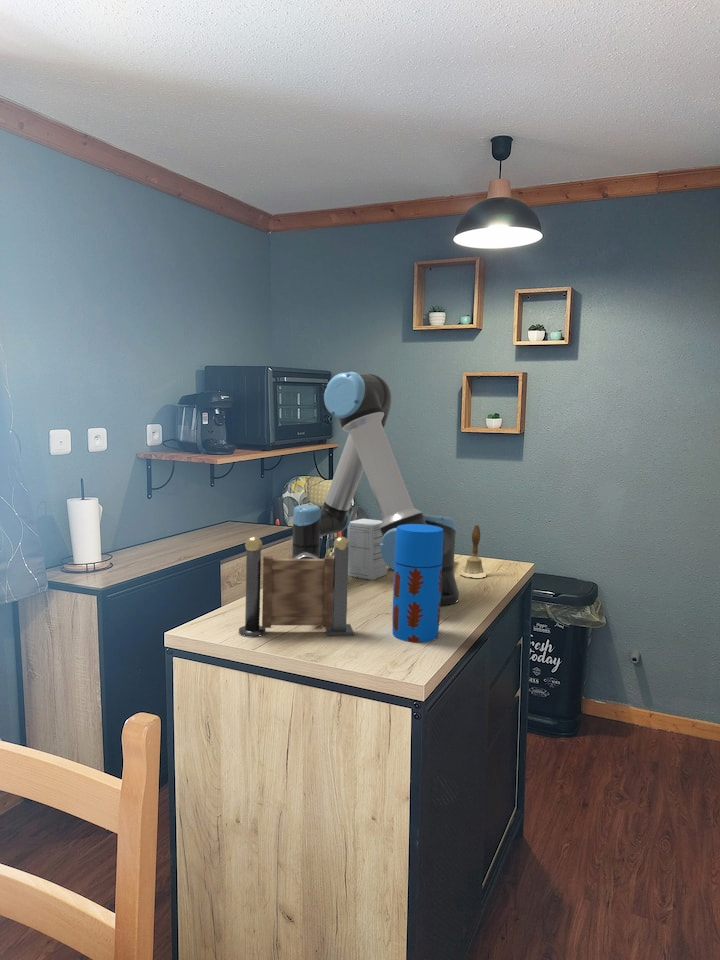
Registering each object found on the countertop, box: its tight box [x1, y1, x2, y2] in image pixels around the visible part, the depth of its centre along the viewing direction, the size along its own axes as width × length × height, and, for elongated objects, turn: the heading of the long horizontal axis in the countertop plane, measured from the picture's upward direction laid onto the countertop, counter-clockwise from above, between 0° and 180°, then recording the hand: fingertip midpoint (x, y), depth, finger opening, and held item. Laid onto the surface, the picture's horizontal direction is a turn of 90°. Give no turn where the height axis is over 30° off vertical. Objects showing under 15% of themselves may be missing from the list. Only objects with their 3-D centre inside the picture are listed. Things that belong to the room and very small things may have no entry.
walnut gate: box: [261, 555, 334, 629], centre depth 163 cm, size 16×2×16 cm, turn 97°
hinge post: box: [238, 535, 267, 637], centre depth 162 cm, size 6×6×22 cm
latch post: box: [324, 536, 354, 637], centre depth 164 cm, size 6×6×22 cm
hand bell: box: [462, 524, 485, 574], centre depth 224 cm, size 8×8×16 cm
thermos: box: [391, 524, 444, 643], centre depth 164 cm, size 11×11×25 cm
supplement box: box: [347, 518, 388, 581], centre depth 219 cm, size 10×9×17 cm
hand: (308, 593), depth 167 cm, fingers closed
